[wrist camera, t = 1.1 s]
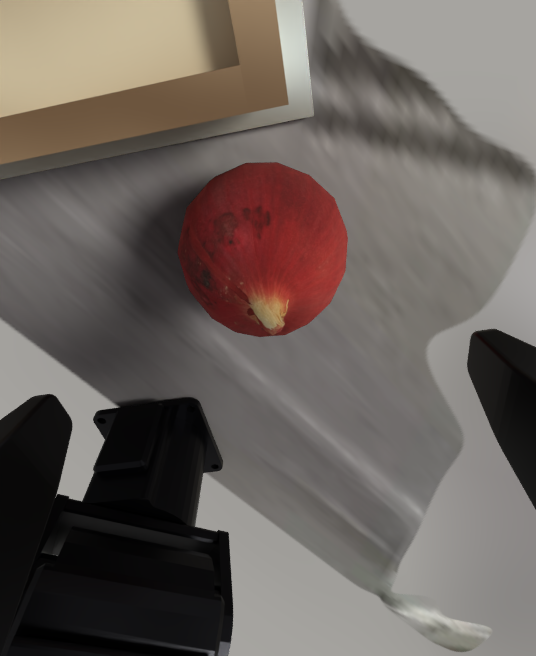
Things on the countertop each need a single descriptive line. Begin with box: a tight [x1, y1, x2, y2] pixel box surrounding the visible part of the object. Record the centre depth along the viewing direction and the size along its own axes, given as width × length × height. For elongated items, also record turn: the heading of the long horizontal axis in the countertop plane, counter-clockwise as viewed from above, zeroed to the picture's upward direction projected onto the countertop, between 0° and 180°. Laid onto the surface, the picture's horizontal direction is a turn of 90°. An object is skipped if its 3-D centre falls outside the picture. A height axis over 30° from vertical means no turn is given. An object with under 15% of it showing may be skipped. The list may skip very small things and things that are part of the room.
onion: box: [178, 162, 348, 337], centre depth 14 cm, size 6×6×8 cm
